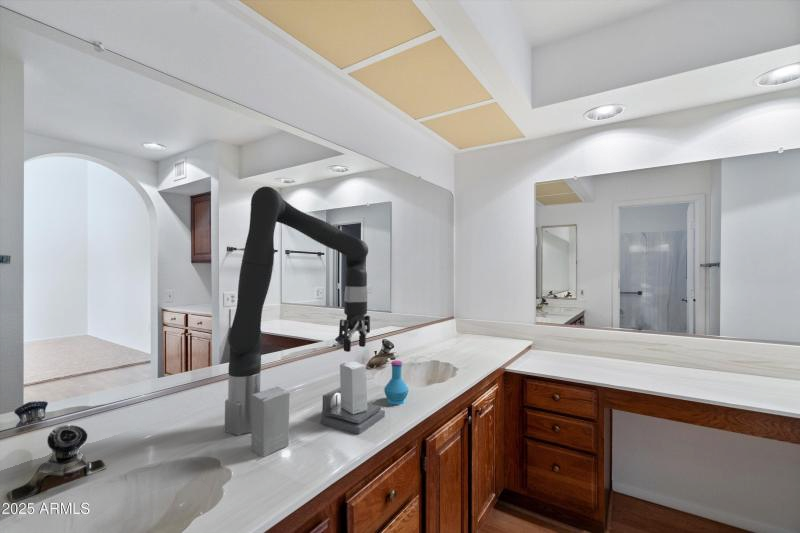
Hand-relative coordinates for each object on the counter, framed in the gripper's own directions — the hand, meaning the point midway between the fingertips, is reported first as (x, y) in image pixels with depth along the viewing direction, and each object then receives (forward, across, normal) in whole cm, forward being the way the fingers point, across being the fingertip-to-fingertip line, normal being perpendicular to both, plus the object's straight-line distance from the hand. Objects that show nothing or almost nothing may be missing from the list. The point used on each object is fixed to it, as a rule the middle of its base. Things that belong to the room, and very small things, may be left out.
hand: (354, 348), depth 120 cm
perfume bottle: (+24, -22, +4) cm, 33 cm away
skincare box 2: (+20, 0, 0) cm, 20 cm away
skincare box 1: (+24, +27, -9) cm, 37 cm away
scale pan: (+21, 0, 0) cm, 21 cm away
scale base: (+24, 0, 0) cm, 24 cm away
